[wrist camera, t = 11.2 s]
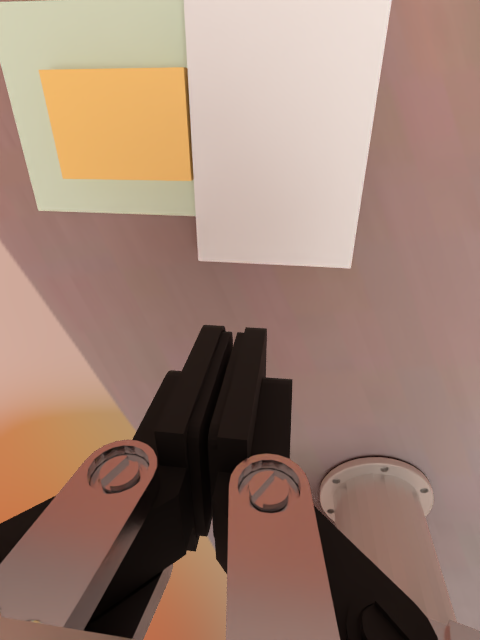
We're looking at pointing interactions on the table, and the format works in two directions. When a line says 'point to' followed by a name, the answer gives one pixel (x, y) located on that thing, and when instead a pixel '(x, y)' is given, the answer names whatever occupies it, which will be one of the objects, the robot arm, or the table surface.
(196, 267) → the table surface
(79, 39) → the mat
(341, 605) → the robot arm
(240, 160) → the white flat block
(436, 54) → the table surface
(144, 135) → the yellow orange rectangular block
